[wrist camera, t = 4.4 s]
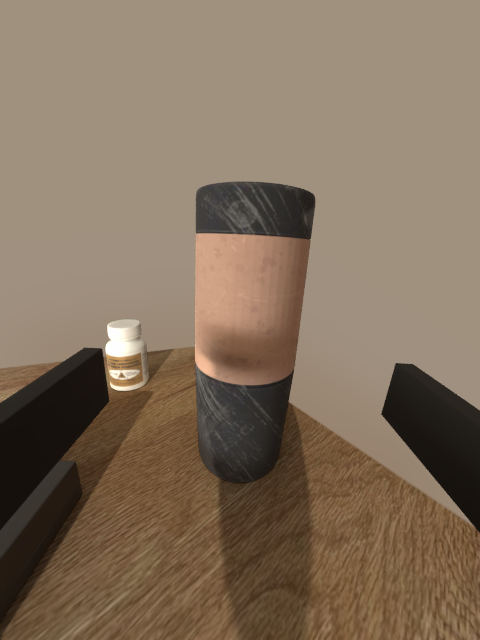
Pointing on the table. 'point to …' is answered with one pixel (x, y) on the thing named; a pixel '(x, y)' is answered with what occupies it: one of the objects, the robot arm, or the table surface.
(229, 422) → the travel mug
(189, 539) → the table surface
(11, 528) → the dock pad
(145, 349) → the pill bottle
